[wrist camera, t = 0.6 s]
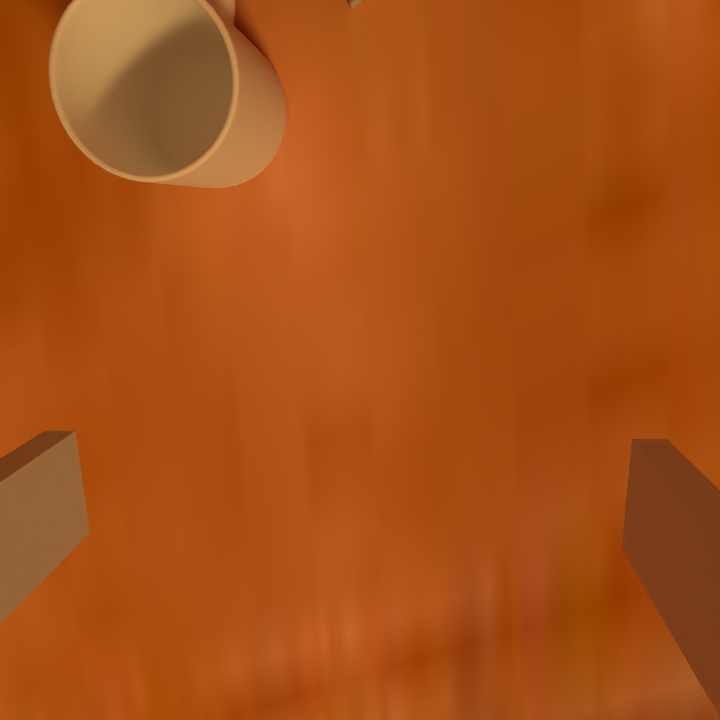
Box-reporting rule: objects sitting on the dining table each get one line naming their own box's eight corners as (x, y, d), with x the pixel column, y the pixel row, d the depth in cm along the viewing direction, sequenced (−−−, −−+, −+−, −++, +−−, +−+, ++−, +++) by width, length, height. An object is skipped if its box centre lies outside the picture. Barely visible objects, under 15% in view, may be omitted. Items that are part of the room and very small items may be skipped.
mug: (171, -53, 34) (68, -159, 24) (317, -19, 34) (273, -113, 24) (140, 170, 37) (37, 157, 27) (274, 203, 37) (219, 201, 27)
